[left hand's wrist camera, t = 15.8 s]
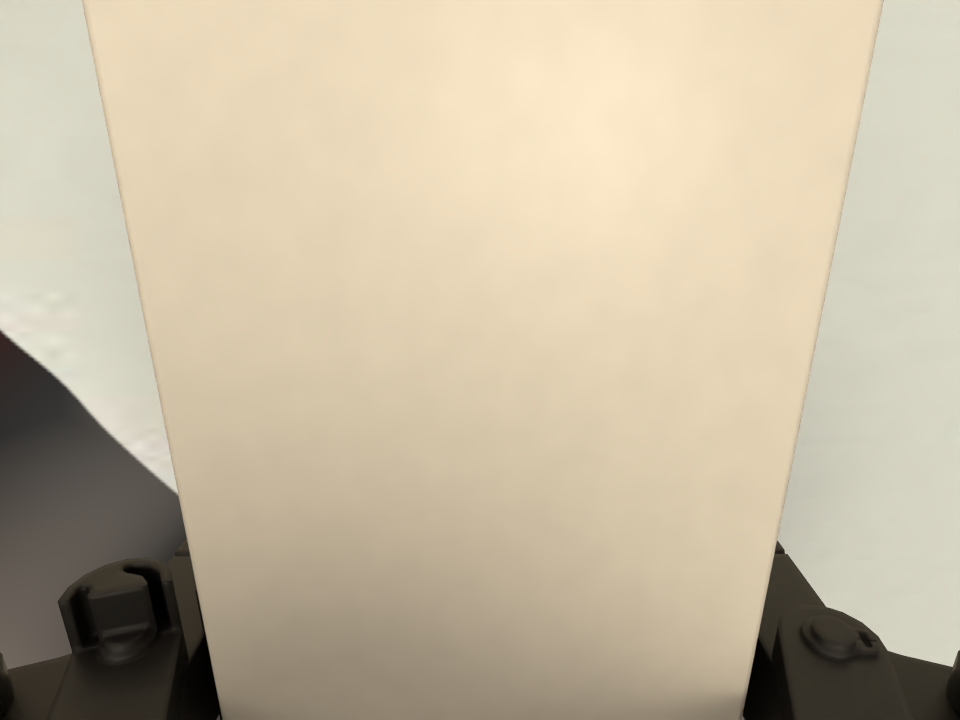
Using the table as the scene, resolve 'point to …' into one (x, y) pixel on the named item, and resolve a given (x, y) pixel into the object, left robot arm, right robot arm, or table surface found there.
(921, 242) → the table surface
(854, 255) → the table surface
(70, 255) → the table surface
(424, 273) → the box
